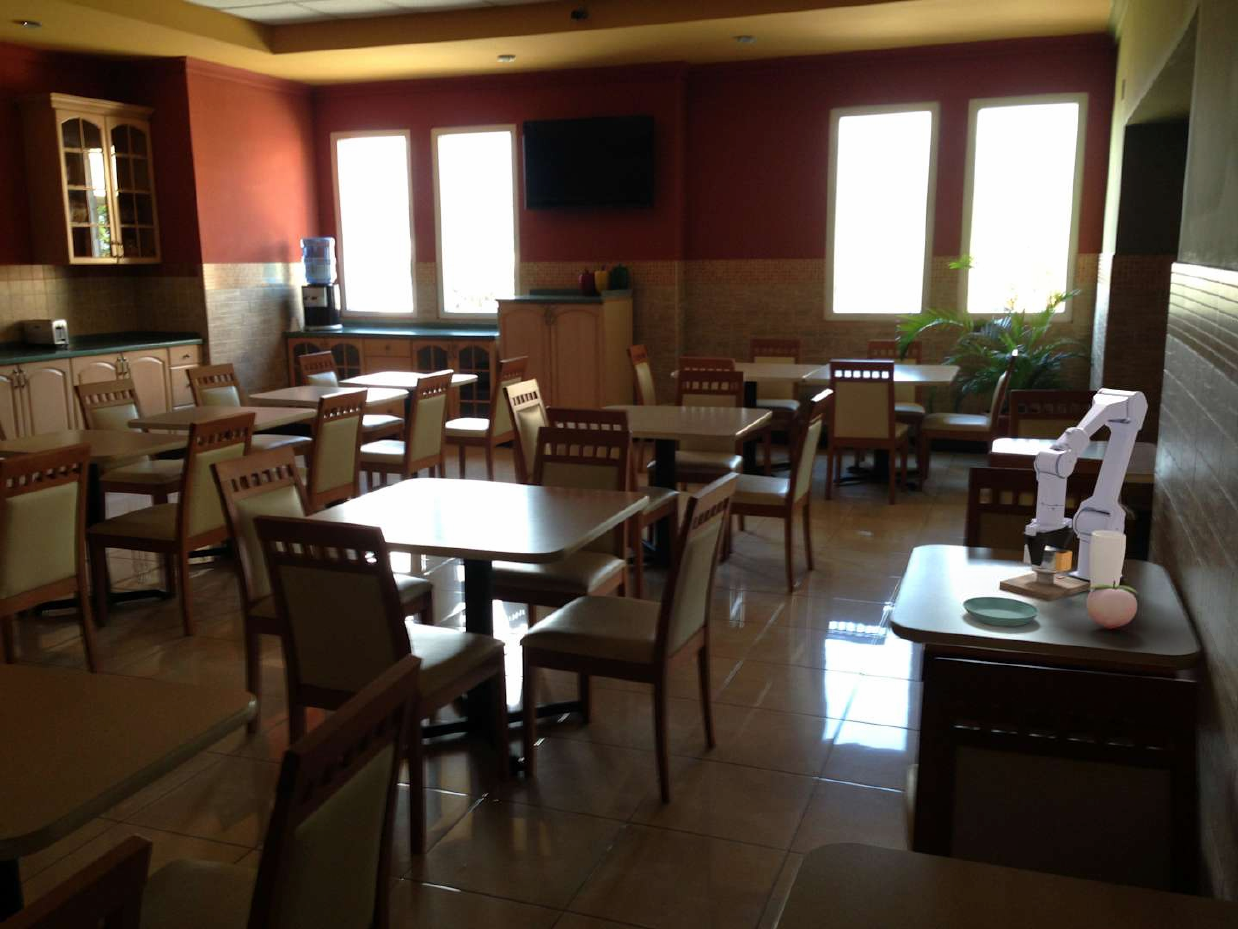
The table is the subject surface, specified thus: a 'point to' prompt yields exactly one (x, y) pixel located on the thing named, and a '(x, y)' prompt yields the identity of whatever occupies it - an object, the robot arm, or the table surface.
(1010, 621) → the saucer
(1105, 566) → the drinking glass
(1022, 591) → the mount plate
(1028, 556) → the grey and orange block
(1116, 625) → the decorative fruit
